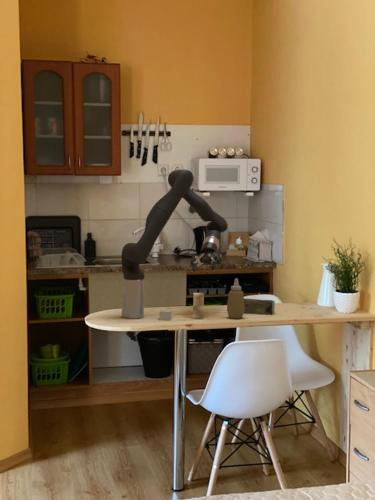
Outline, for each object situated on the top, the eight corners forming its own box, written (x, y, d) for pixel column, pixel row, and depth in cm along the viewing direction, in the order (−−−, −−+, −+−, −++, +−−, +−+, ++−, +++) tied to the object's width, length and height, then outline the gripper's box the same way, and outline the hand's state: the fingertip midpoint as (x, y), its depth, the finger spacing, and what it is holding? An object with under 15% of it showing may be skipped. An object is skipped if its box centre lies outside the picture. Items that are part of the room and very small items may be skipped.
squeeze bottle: (248, 318, 292) (249, 278, 290) (235, 320, 286) (236, 279, 285) (235, 315, 298) (236, 276, 296) (222, 317, 293) (223, 278, 291)
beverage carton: (272, 315, 301) (272, 301, 301) (232, 313, 306) (232, 299, 305) (274, 312, 309) (275, 299, 308) (235, 310, 314) (235, 297, 313)
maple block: (193, 318, 288) (193, 294, 287) (193, 316, 292) (193, 292, 291) (203, 318, 288) (203, 294, 287) (202, 317, 292) (203, 293, 292)
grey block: (159, 320, 283) (159, 311, 283) (160, 318, 288) (160, 309, 288) (170, 320, 283) (171, 311, 282) (171, 318, 288) (171, 309, 287)
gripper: (193, 242, 303) (185, 264, 291) (222, 239, 298) (215, 262, 286) (198, 255, 307) (190, 277, 295) (226, 252, 302) (220, 274, 290)
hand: (203, 269), depth 290 cm, fingers open, 8 cm apart
